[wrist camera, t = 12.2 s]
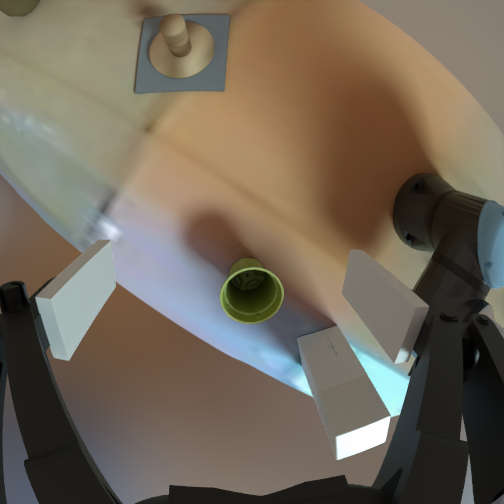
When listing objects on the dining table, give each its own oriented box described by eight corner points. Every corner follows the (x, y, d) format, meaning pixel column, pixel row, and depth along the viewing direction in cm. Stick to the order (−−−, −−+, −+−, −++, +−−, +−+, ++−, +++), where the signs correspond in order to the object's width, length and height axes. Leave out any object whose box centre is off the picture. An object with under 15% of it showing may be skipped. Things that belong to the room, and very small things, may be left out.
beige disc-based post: (216, 24, 35) (216, -8, 25) (212, 78, 38) (209, 57, 28) (154, 27, 34) (138, -2, 24) (148, 80, 37) (127, 62, 27)
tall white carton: (337, 324, 57) (391, 415, 33) (340, 355, 60) (385, 442, 37) (296, 337, 57) (334, 436, 33) (302, 367, 60) (336, 461, 36)
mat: (229, 16, 35) (230, 15, 35) (224, 91, 40) (224, 90, 39) (145, 19, 34) (144, 18, 33) (136, 93, 38) (135, 93, 38)
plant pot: (208, 265, 50) (207, 289, 41) (257, 237, 49) (264, 255, 41) (237, 305, 53) (241, 333, 45) (283, 280, 52) (294, 304, 44)
